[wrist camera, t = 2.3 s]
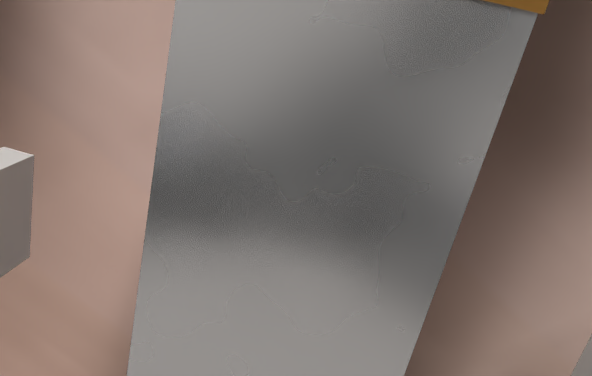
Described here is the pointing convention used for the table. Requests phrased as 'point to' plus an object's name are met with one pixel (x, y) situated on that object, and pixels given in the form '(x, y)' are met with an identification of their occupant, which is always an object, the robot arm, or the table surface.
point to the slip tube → (314, 179)
